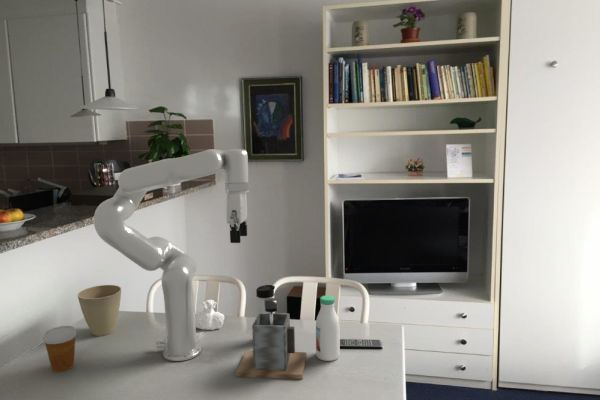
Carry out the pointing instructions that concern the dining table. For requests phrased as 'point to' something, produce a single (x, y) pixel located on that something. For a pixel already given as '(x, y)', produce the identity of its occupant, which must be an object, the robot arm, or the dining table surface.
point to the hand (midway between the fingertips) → (239, 239)
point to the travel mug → (264, 297)
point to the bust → (209, 317)
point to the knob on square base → (271, 307)
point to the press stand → (272, 350)
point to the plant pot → (100, 308)
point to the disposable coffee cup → (60, 347)
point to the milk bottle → (327, 331)
